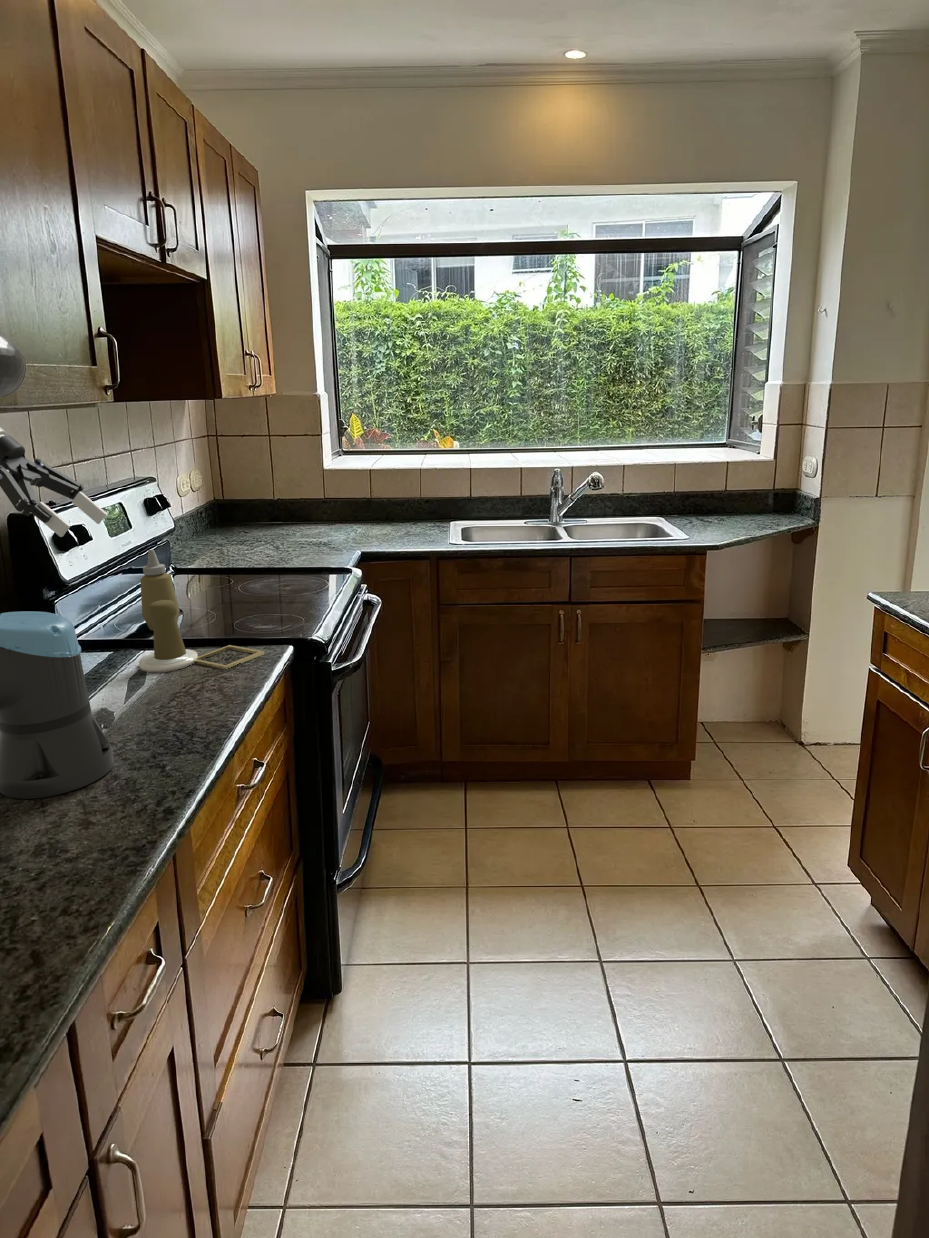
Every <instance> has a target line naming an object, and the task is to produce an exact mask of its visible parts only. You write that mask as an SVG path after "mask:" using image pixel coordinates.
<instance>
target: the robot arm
mask: <svg viewBox="0 0 929 1238" xmlns="http://www.w3.org/2000/svg"><path fill="white" fill-rule="evenodd" d="M26 364H27V362H26V358H25V356H24V354H23V352H22V351H21V349H20V347H19V346H18V345H17V343H15V341H14V340H13V339H12V338H11V337H9V336H7V335H6V334H3V333H2V332H1V331H0V397H5V396H9V395H11V394H13V393H14V392H16V391H17V390H18V389H19V388H20V387H21V385H22V384H23V382H24V379H25V376H26ZM32 486H35V487H38V488H42V487H44V488H46V489H47V490H50V491H53V492H54V493H57V494H59V495H62V496H63V497H66V498H68V499H69V500H72V501H71V503H72V504H73V505H75V506H76V507H77V509H79V510H80V511H82V512H83V513H84V514H85V515H87V517H89V518H90V519H91V520H92V521H93V522H95V523H96V525H99V524H101V523H102V522H103V520H104V519H105V517H106V516H107V515H108V513H107V512H106V511H105V510H103V509H102V507H100V506H99V505H98V504H97V503H95V502H94V501H92V499H91V498H89V496H87V495H86V494H85V493H83V490H84V489H85V486H84V485H83V484H81V483H79V482H78V481H76V480H75V479H73V478H71V477H69V476H67V475H66V474H64V473H63V472H60V471H58V470H57V469H55V468H54V467H52V466H50V465H49V464H47V463H46V462H45V461H43V460H42V459H41V458H38V457H36V459H35V460H34V461H33V462H32V461H31V460H29V459H28V458H26V449H25V446H24V445H22V444H21V443H19V442H18V441H17V440H16V439H15V438H14V437H13V436H11V435H8V432H7V431H5V429H4V428H3V427H1V426H0V488H1V490H2V491H3V493H4V494H5V495H6V497H7V498H8V500H9V502H10V503H11V504H12V506H13V508H15V510H16V511H17V512H20V513H22V514H23V515H24V516H27V517H28V516H30V514H32V515H33V516H34V517H36V518H37V519H38V520H39V521H40V522H42V523H43V524H44V525H45V526H47V528H49V529H50V530H51V531H53V533H55V534H56V535H57V536H58V537H60V538H62V537H64V536H65V534H66V533H67V532H68V530H69V529H70V528H71V525H70V524H69V523H68V522H67V521H66V520H64V519H63V518H62V516H60V515H59V514H58V513H56V512H55V511H54V510H53V509H51V508H50V507H49V506H48V505H47V504H46V503H45V502H43V501H40V502H39V503H38V499H37V496H36V495H35V492H34V489H33V487H32ZM81 653H82V647H81V645H80V643H79V641H78V637H77V632H76V629H75V626H74V624H73V623H72V621H71V620H70V619H68V618H67V617H65V616H63V615H60V614H57V613H53V612H52V613H51V612H48V611H38V610H37V611H33V610H32V611H31V610H30V611H24V610H23V611H20V610H19V611H8V612H6V611H5V612H2V613H0V794H1V795H3V796H5V797H8V798H11V799H13V798H14V799H24V800H25V799H29V800H31V799H42V798H49V797H54V796H57V795H61V794H65V793H69V792H73V791H75V790H79V789H81V788H83V787H86V786H88V785H90V784H92V783H94V782H96V781H97V780H100V779H101V778H103V777H104V776H106V775H107V774H108V773H109V772H110V771H111V770H112V768H113V767H114V765H115V758H114V753H113V752H114V751H113V747H112V746H111V743H110V741H109V739H108V738H107V736H106V734H105V733H104V732H103V730H102V728H101V726H100V725H99V723H98V722H97V720H96V718H95V717H94V715H93V712H92V707H91V703H90V698H89V693H88V692H89V691H88V688H87V683H86V678H85V673H84V667H83V664H82V662H83V661H82V657H81Z"/></svg>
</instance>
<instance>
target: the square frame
mask: <svg viewBox="0 0 929 1238" xmlns="http://www.w3.org/2000/svg"><path fill="white" fill-rule="evenodd" d="M228 649H229V650H231V649H233V651H237V650H238V651H237V652H242V653H249V654H250V655H247V656H246V657H243V658H240V659H237V660H234V661H233V662H230V663H228V664H227V663H226V664H222V663H218V662H212V661H208V660H205V659H207V658H206V657H208V658H210V657H212V656H211V655H213V656H215V655H214V654H216V655H218V654H222V653H223V652H226V651H228ZM225 650H226V651H225ZM263 655H265V650H258V649H253V648H248V647H242V646H237V645H232V644H229V645H226V646H223V647H220V648H218V649H215V650H213V651H210V652H207V653H205V654H202V655H198V657H197V659H195V660H194V662H195V663H198V664H197V665H200V664H202V665H201V666H205V665H207V666H206V667H210V666H212V667H211V668H215V667H217V668H216V669H222V670H225V669H227V670H229V669H231V667H232V668H234V667H236V666H238V665H237V664H239V663H241V664H244V663H246V662H248V661H251V660H253V659H256V658H259V657H260V656H263ZM209 656H210V657H209ZM195 663H194V664H195ZM235 665H236V666H235ZM239 665H240V664H239ZM233 666H234V667H233ZM228 668H229V669H228Z"/></svg>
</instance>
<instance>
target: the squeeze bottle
mask: <svg viewBox="0 0 929 1238" xmlns="http://www.w3.org/2000/svg"><path fill="white" fill-rule="evenodd" d="M147 551H148V552H147V564H146V565H144V566H142V572H143V576H142V577H141V578H140V583H139V584H140V596H141V597H140V598H141V612H142V613H141V615H142V616H141V617H142V618H143V620H144V621H145V623H146V625H147V627H148V629H149V630H150V631H153V632H154V623H153V618H152V617H151V616H150V614H149V607H150V605H151V604H152V603H153V602H156V601H160V600H171V601H173V602H174V603H175V604H176V606H177V614H176V616H175V617H176V620H177V624H178V621H179V616H180V612H181V611H180V607H179V606H180V605H179V602H178V599H177V596H176V595H177V594H176V590H175V587H174V584H173V583H174V582H173V580H172V575H170V574H169V573H166V572H167V571H166V565H165V564H164V563H160V562H159V559H158V556H157V554H156V552H155V550H154V549H148V550H147Z"/></svg>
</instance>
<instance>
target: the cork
mask: <svg viewBox="0 0 929 1238" xmlns="http://www.w3.org/2000/svg"><path fill="white" fill-rule="evenodd" d="M149 614H150V616H151V617H152V618H153V623H154V631H153V653H154V658H155V659H158V660H168V659H174V658H178V657H181V656H183V655H185V654H186V650H185V649H186V647H185V644H184V640H183V637H182V634H181V630H180V628H179V624H178V623H177V620H176V617H175V616H176V614H177V606H176V604H175V603H174V602H173V601H171V600H160V601H156V602H153V603H152V604H151V605H150V607H149Z"/></svg>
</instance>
